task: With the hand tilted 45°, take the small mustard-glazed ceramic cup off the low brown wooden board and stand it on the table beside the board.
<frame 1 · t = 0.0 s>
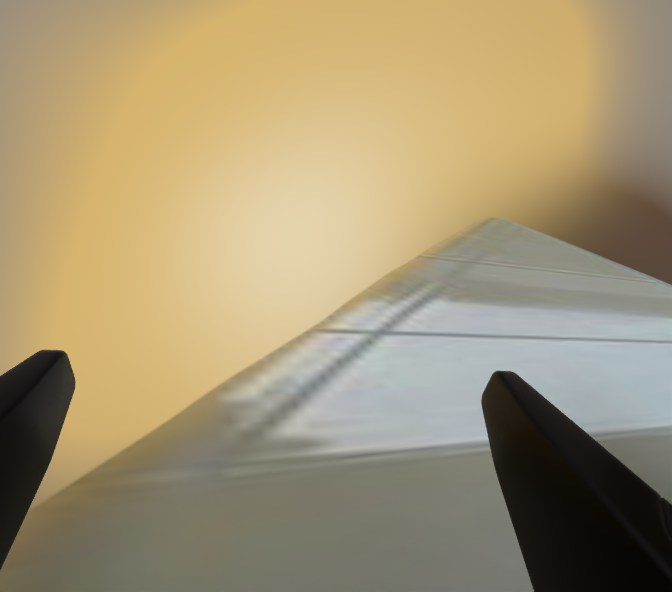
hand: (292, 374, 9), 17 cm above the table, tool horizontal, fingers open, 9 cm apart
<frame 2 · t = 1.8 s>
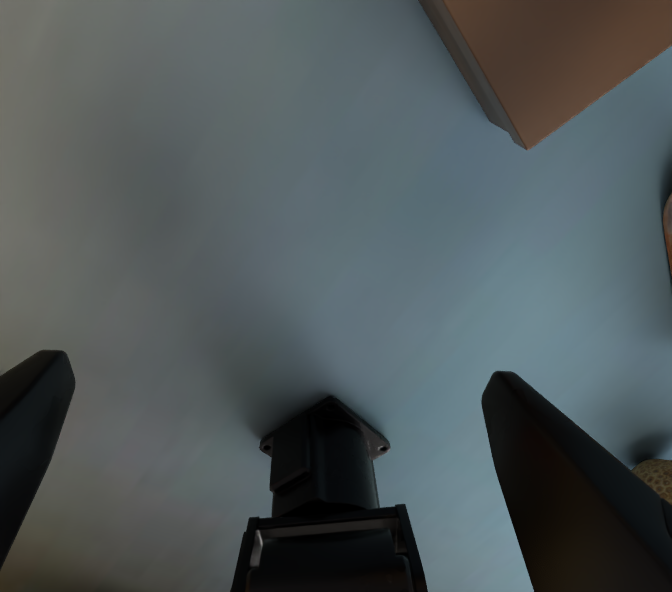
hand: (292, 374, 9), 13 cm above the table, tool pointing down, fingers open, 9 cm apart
tan rounded piece: (647, 463, 34), on the table
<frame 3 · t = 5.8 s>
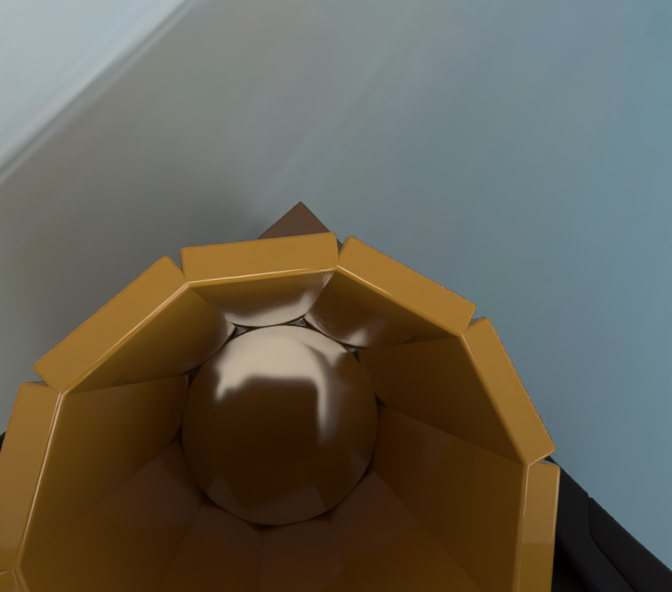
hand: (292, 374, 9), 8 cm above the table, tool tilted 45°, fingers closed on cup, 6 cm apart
cup: (282, 418, 13), point 4 cm above the table, touching gripper, brown wooden board
brown wooden board: (334, 480, 17), on the table
when the fingers open (4 cm above the table, at t = 13.0 s): cup stays where it is, on the table.
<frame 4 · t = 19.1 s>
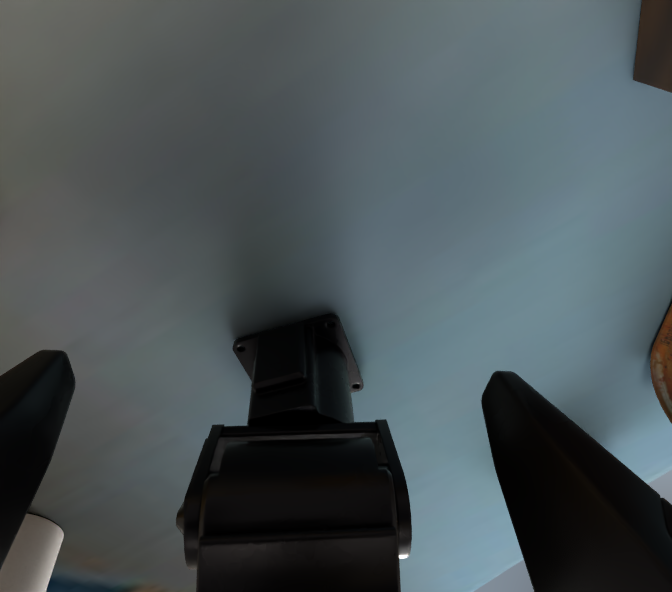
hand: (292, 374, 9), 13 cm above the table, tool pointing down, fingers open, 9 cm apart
coffee cup: (23, 528, 37), on the table
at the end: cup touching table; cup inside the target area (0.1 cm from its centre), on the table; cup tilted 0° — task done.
